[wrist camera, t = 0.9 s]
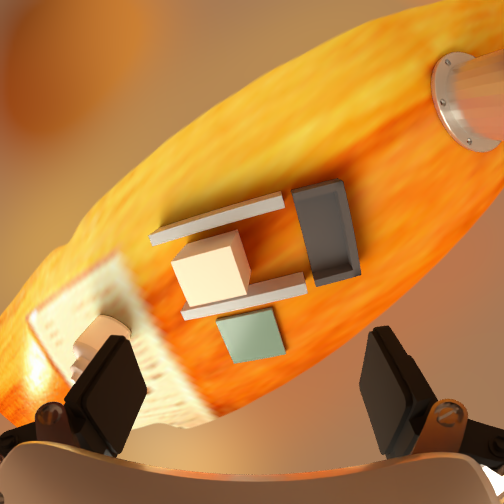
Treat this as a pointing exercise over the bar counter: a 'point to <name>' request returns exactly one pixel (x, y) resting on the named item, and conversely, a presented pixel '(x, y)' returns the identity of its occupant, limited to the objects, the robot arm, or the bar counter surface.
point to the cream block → (213, 269)
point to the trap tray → (327, 231)
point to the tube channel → (256, 291)
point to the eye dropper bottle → (94, 342)
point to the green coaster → (251, 335)
